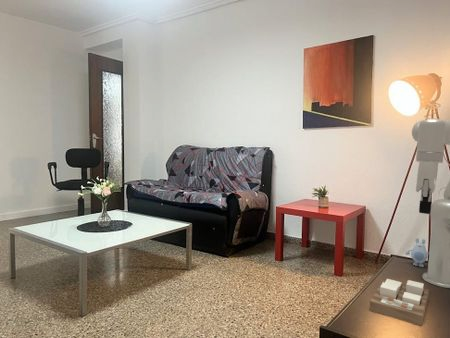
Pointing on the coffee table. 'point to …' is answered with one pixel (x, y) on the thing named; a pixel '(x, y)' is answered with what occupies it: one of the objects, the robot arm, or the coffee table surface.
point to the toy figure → (418, 253)
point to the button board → (399, 306)
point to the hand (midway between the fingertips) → (424, 213)
